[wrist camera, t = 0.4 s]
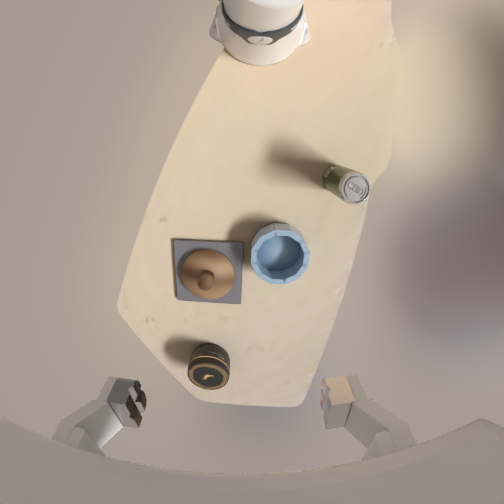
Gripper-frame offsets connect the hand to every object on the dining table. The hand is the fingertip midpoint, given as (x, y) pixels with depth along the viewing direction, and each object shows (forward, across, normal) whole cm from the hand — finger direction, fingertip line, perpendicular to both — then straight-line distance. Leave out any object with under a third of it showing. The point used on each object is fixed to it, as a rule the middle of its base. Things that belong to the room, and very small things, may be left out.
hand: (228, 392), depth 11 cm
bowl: (+46, -6, +11) cm, 47 cm away
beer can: (+46, -17, -3) cm, 49 cm away
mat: (+46, +9, +15) cm, 49 cm away
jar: (+46, +12, +39) cm, 62 cm away
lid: (+45, +9, +15) cm, 48 cm away
